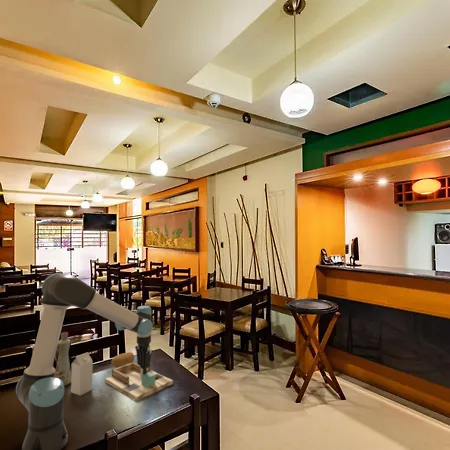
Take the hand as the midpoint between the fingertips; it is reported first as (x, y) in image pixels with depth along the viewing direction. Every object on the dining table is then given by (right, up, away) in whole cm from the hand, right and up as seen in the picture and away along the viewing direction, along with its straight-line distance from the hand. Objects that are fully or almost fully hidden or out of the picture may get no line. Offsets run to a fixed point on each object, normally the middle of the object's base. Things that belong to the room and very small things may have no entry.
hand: (143, 379), depth 163 cm
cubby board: (-3, -4, +3) cm, 6 cm away
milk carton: (-31, -3, -6) cm, 31 cm away
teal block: (+3, -2, -2) cm, 4 cm away
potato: (-19, -5, +23) cm, 31 cm away
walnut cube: (-2, -2, +14) cm, 14 cm away
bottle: (-45, -4, +2) cm, 45 cm away
